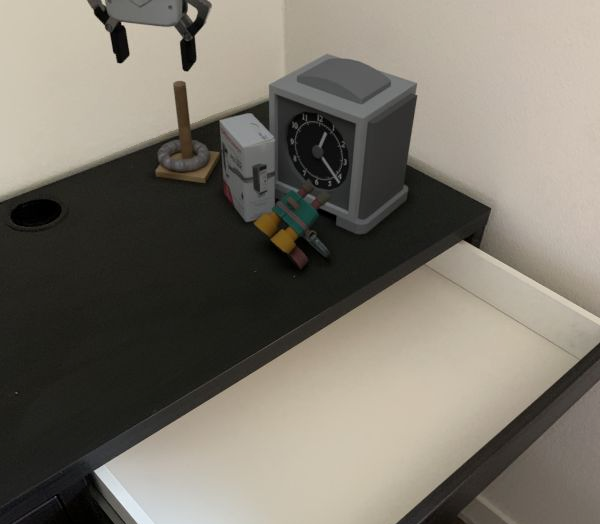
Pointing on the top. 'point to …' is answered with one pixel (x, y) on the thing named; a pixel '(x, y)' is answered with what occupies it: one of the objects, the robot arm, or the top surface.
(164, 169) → the stand
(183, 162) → the ring
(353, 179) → the alarm clock
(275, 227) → the teal and yellow figure
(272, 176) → the ink box
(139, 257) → the top surface
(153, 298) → the top surface
